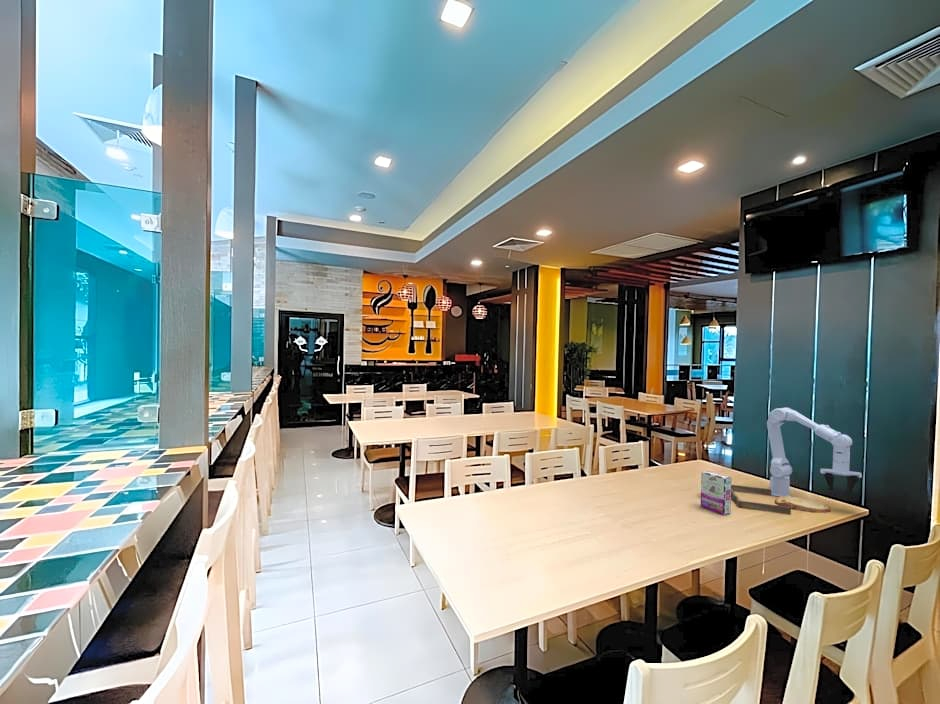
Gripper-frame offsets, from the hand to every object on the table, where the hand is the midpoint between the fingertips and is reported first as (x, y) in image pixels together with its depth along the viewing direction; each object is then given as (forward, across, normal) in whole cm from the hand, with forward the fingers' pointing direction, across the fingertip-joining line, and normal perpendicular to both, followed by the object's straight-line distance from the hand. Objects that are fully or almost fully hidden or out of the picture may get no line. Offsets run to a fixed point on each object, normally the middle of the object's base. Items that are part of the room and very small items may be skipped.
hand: (839, 490), depth 189 cm
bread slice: (+10, -14, 0) cm, 17 cm away
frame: (+9, -32, -1) cm, 34 cm away
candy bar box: (+10, -54, -22) cm, 59 cm away
